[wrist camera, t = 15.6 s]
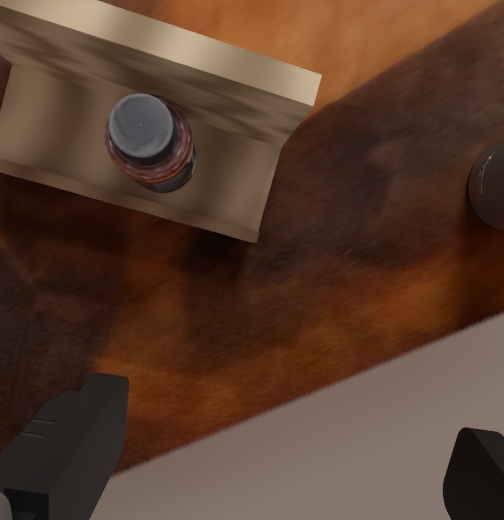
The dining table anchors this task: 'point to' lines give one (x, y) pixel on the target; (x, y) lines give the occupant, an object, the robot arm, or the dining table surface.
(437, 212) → the dining table surface
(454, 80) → the dining table surface
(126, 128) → the supplement bottle
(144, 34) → the board
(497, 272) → the dining table surface
